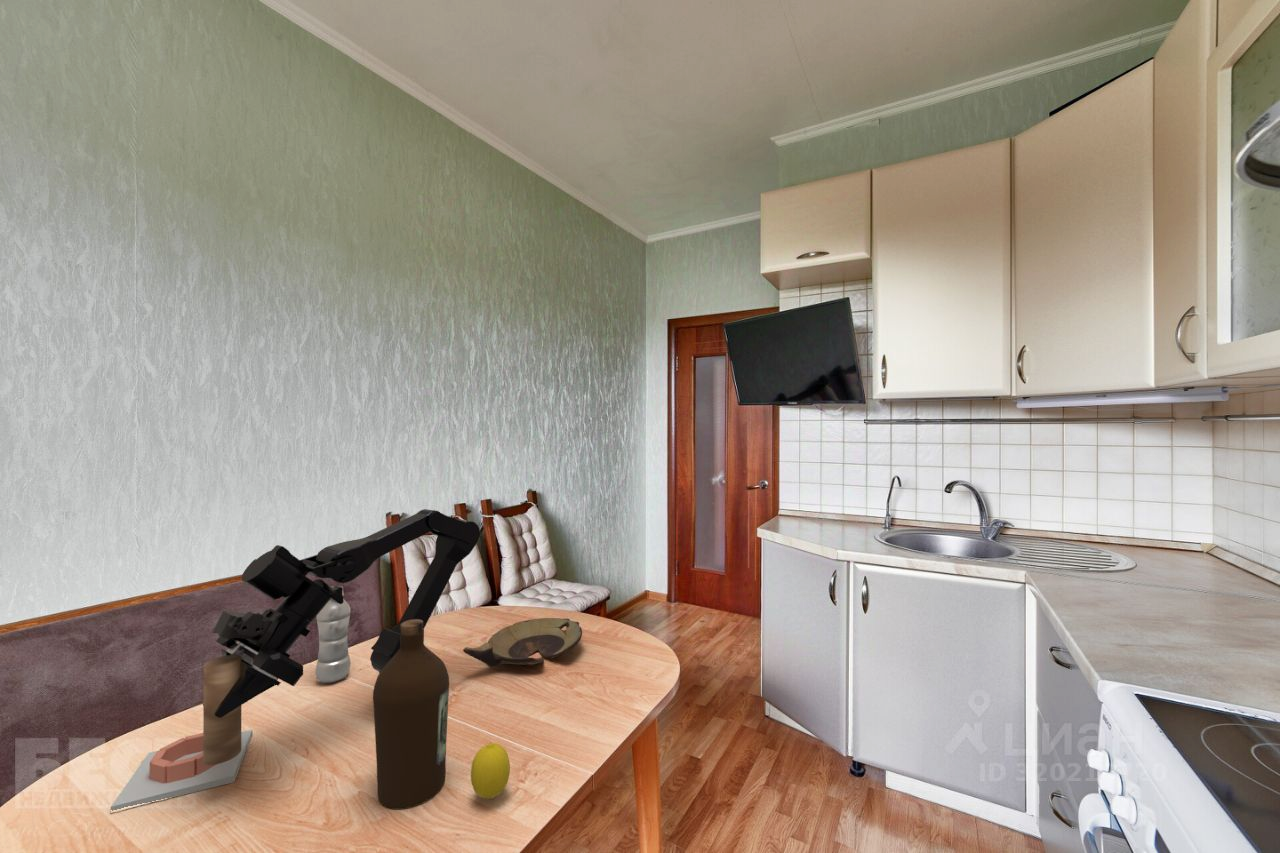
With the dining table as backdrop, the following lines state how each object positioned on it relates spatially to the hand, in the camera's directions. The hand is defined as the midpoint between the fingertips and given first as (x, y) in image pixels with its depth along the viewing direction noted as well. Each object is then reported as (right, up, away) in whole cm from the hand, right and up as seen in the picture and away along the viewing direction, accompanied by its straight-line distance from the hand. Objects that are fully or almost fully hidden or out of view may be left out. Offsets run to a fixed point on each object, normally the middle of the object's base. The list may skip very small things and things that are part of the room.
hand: (211, 711), depth 75 cm
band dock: (-9, -13, +7) cm, 18 cm away
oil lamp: (+35, -14, +48) cm, 61 cm away
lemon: (+41, -13, 0) cm, 43 cm away
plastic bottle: (-4, -14, +37) cm, 40 cm away
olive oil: (+29, -13, +2) cm, 32 cm away
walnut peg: (+1, -7, +1) cm, 7 cm away
